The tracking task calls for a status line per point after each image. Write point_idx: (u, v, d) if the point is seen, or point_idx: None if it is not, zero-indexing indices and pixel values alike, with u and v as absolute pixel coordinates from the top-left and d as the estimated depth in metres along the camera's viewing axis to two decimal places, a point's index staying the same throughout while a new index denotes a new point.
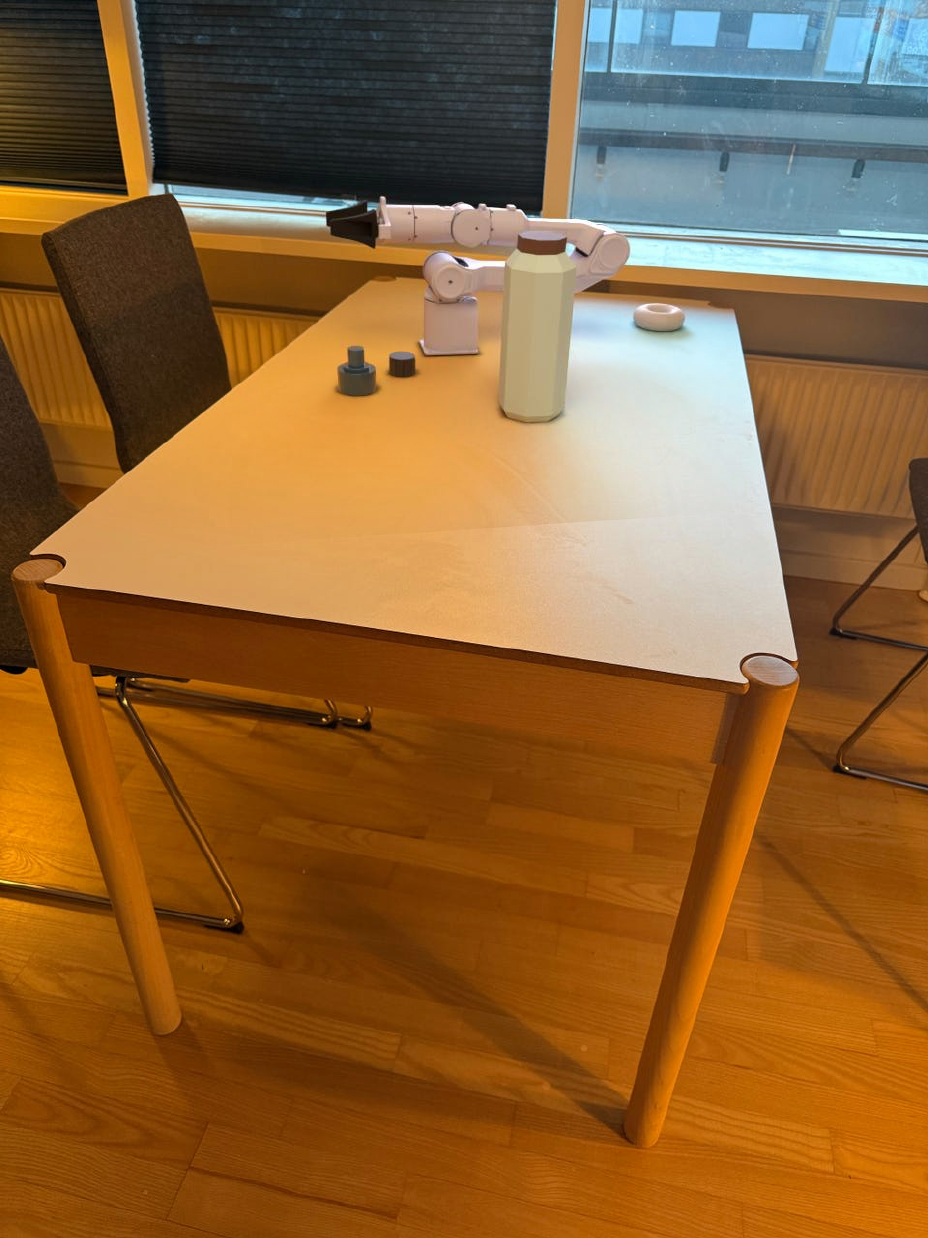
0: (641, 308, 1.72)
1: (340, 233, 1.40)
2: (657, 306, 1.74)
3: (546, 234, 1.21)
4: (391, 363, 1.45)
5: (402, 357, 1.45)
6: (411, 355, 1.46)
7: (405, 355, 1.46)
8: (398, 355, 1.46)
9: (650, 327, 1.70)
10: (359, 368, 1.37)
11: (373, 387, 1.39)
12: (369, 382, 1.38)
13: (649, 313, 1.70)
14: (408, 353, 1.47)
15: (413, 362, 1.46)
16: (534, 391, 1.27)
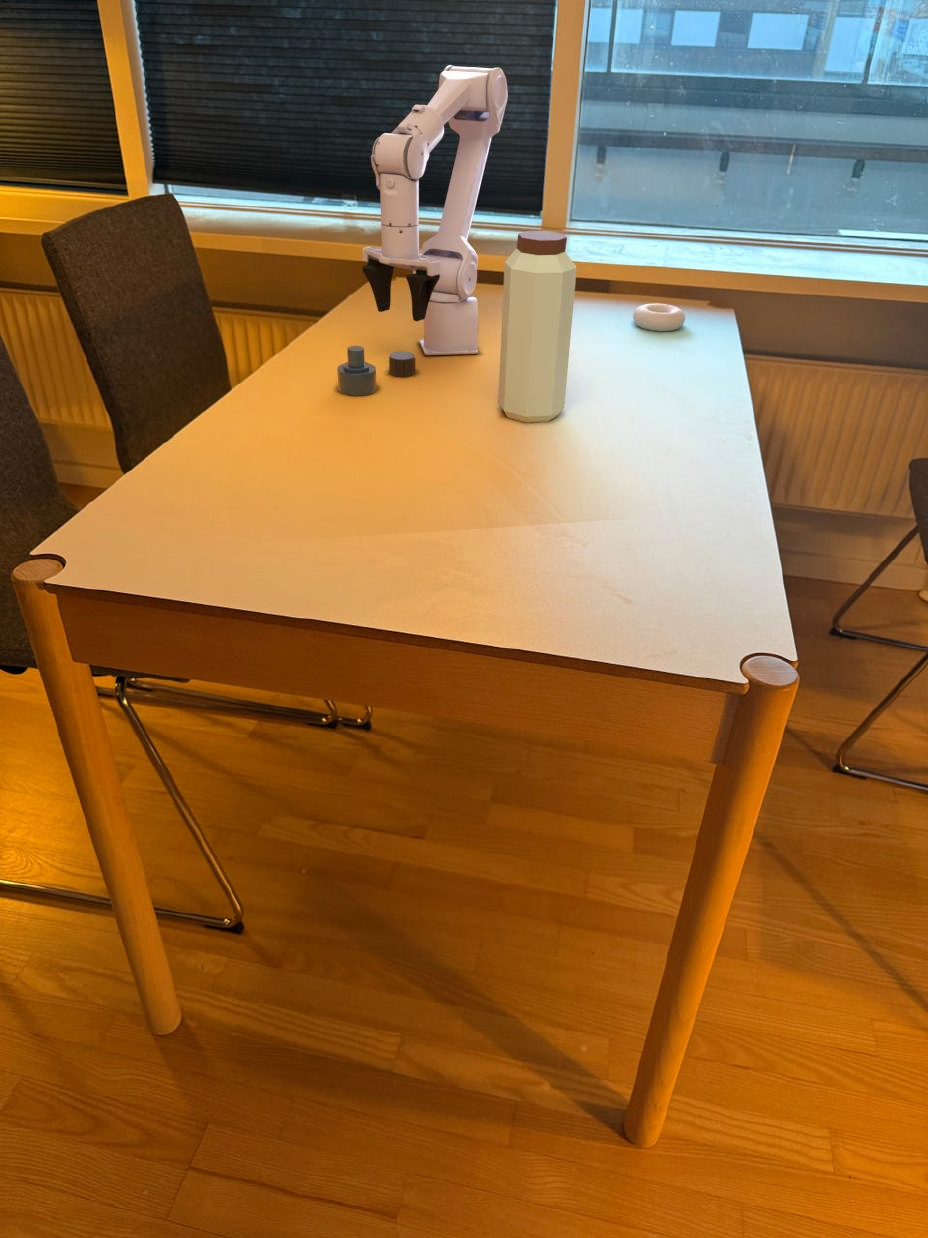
0: (641, 308, 1.72)
1: (424, 309, 1.40)
2: (657, 306, 1.74)
3: (546, 234, 1.21)
4: (391, 363, 1.45)
5: (402, 357, 1.45)
6: (411, 355, 1.46)
7: (405, 355, 1.46)
8: (398, 355, 1.46)
9: (650, 327, 1.70)
10: (359, 368, 1.37)
11: (373, 387, 1.39)
12: (369, 382, 1.38)
13: (649, 313, 1.70)
14: (408, 353, 1.47)
15: (413, 362, 1.46)
16: (534, 391, 1.27)
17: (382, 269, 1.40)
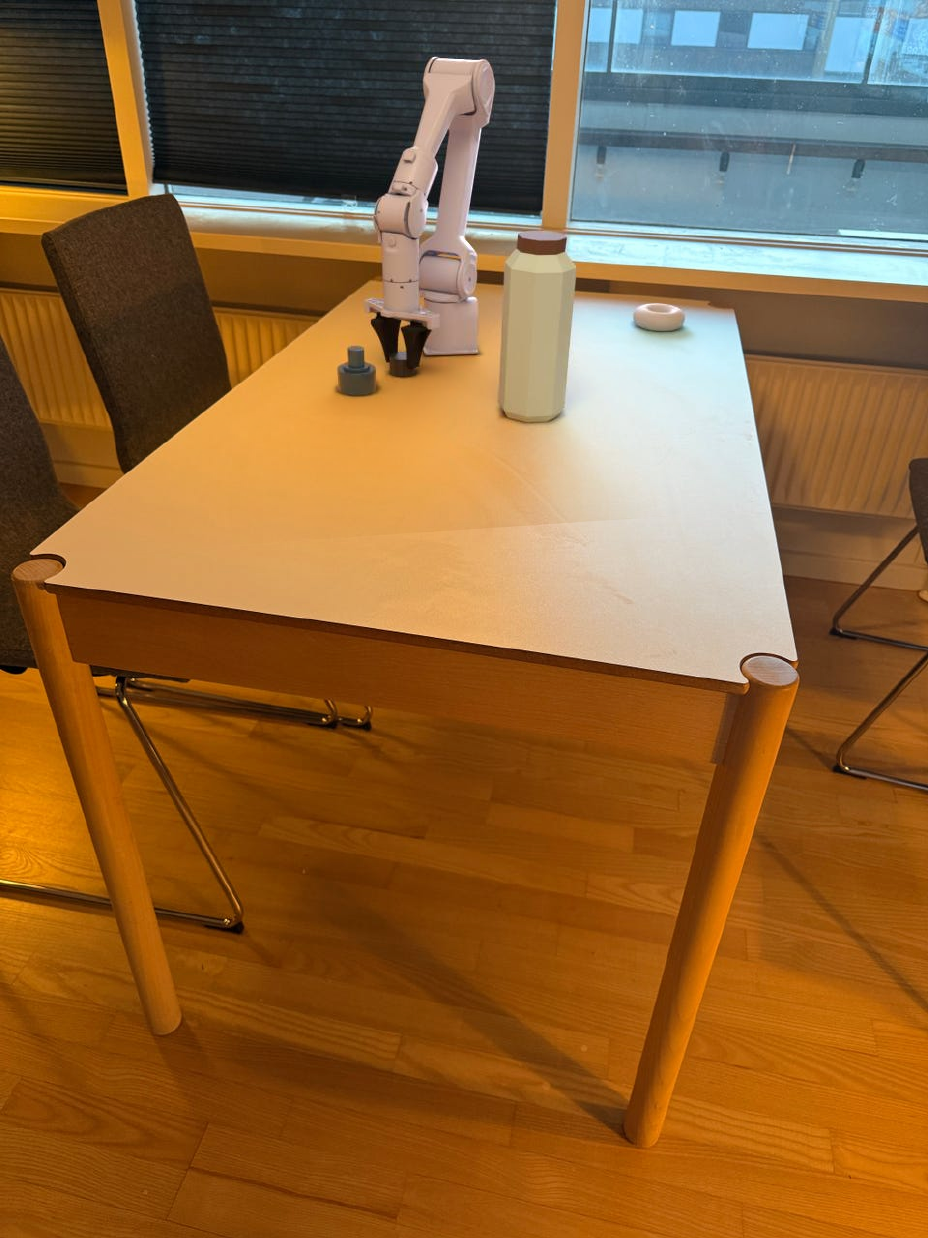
0: (641, 308, 1.72)
1: (418, 357, 1.45)
2: (657, 306, 1.74)
3: (546, 234, 1.21)
4: (391, 363, 1.45)
5: (402, 357, 1.45)
6: None
7: (405, 355, 1.46)
8: (398, 355, 1.46)
9: (650, 327, 1.70)
10: (359, 368, 1.37)
11: (373, 387, 1.39)
12: (369, 382, 1.38)
13: (649, 313, 1.70)
14: None
15: None
16: (534, 391, 1.27)
17: (390, 322, 1.44)
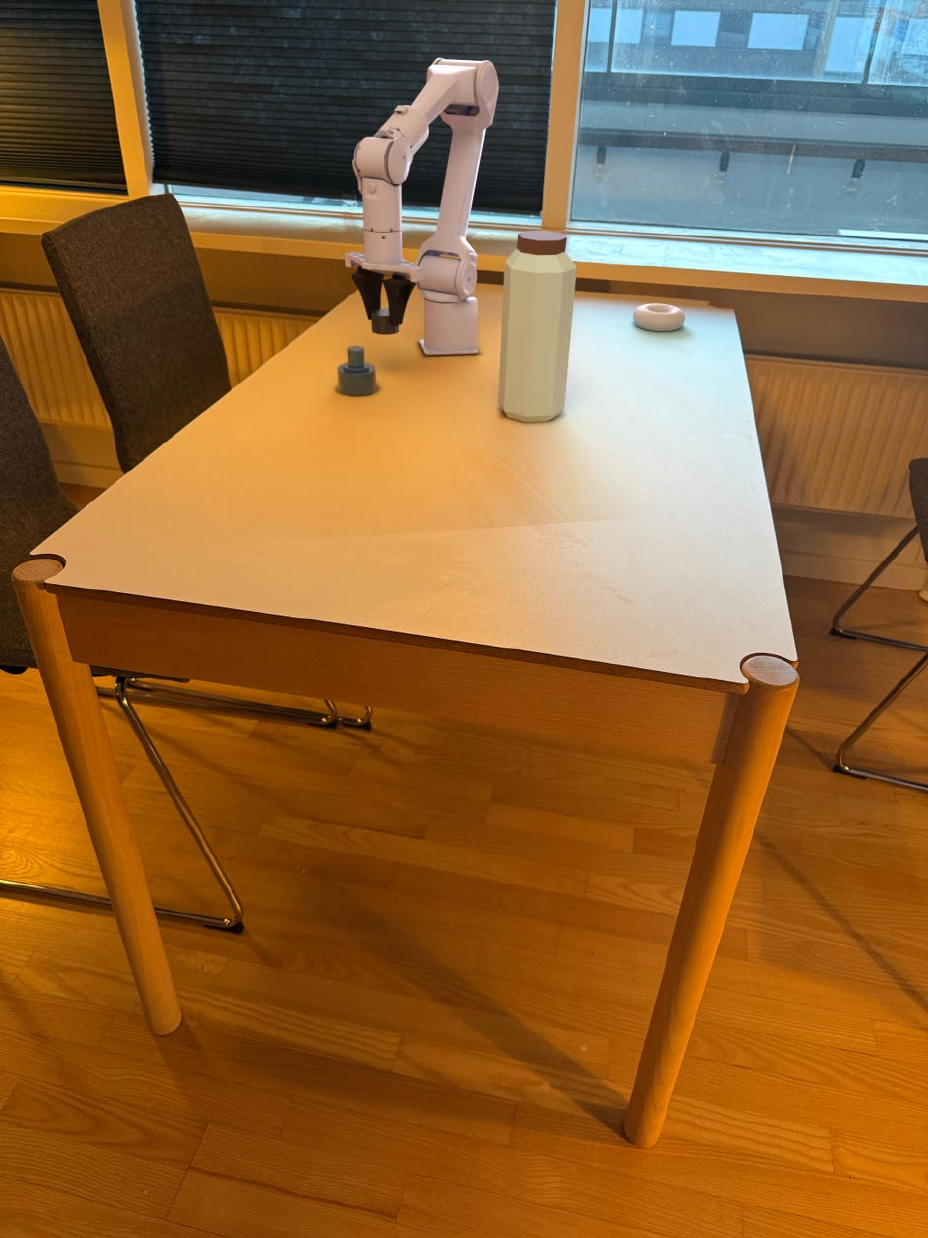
0: (641, 308, 1.72)
1: (402, 314, 1.38)
2: (657, 306, 1.74)
3: (546, 234, 1.21)
4: (373, 320, 1.38)
5: (385, 313, 1.38)
6: None
7: (388, 312, 1.39)
8: (381, 312, 1.39)
9: (650, 327, 1.70)
10: (359, 368, 1.37)
11: (373, 387, 1.39)
12: (369, 382, 1.38)
13: (649, 313, 1.70)
14: None
15: None
16: (534, 391, 1.27)
17: (372, 277, 1.37)
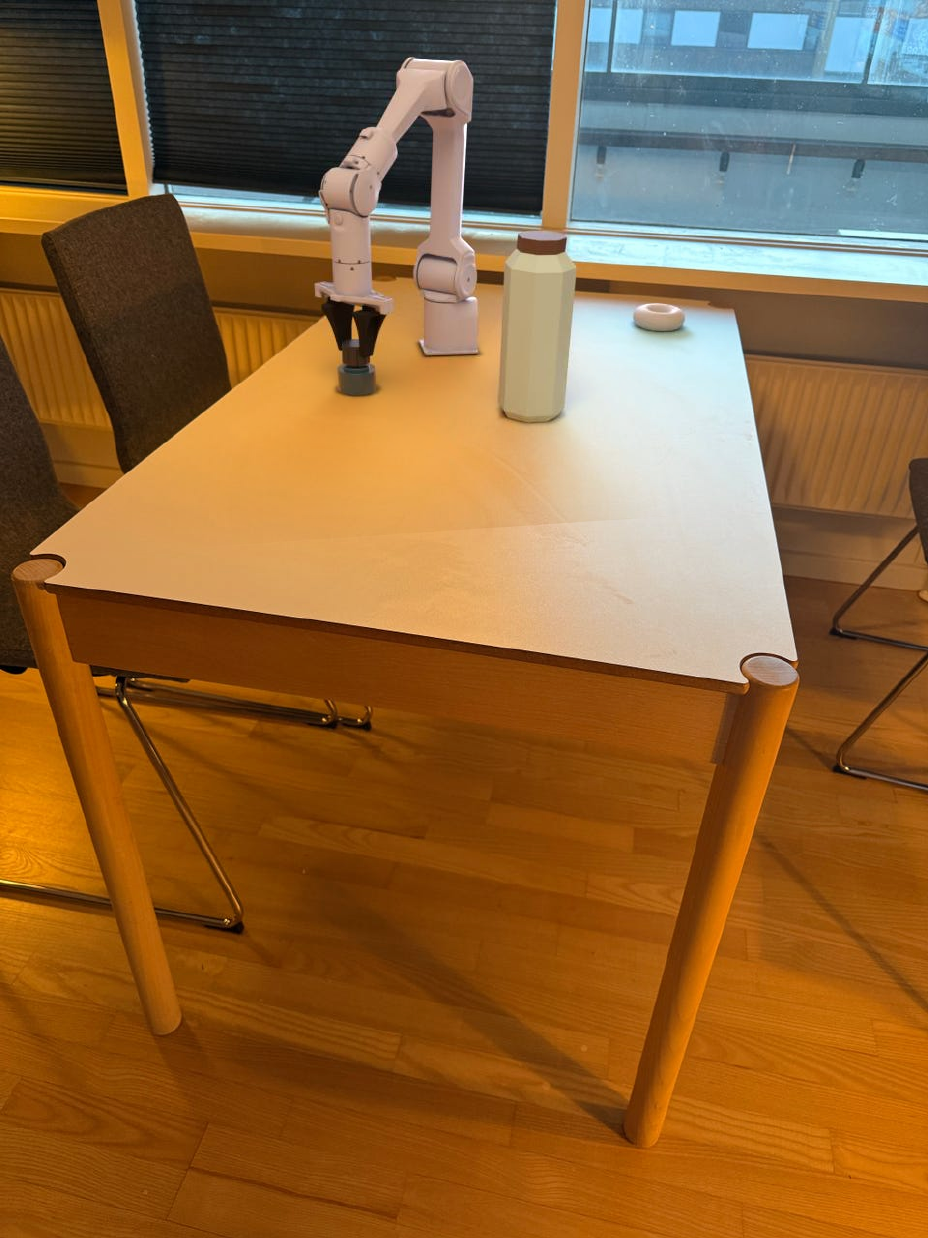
0: (641, 308, 1.72)
1: (372, 345, 1.35)
2: (657, 306, 1.74)
3: (546, 234, 1.21)
4: (344, 351, 1.36)
5: (355, 344, 1.36)
6: None
7: None
8: (351, 343, 1.36)
9: (650, 327, 1.70)
10: (359, 368, 1.37)
11: (373, 387, 1.39)
12: (369, 382, 1.38)
13: (649, 313, 1.70)
14: None
15: None
16: (534, 391, 1.27)
17: (342, 307, 1.35)
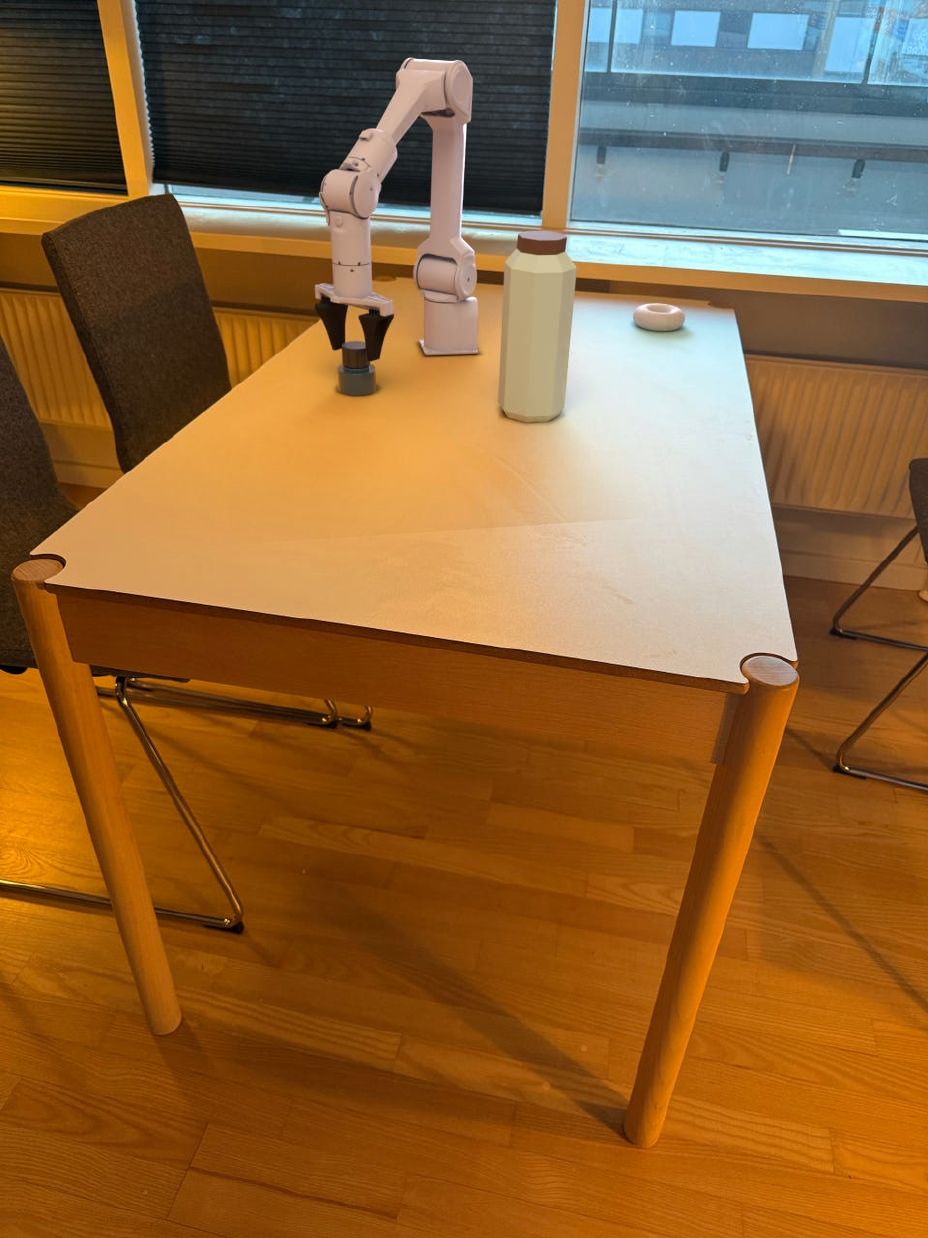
0: (641, 308, 1.72)
1: (379, 349, 1.35)
2: (657, 306, 1.74)
3: (546, 234, 1.21)
4: (344, 353, 1.36)
5: (355, 347, 1.36)
6: None
7: (359, 345, 1.37)
8: (351, 345, 1.37)
9: (650, 327, 1.70)
10: (359, 368, 1.37)
11: (373, 387, 1.39)
12: (369, 382, 1.38)
13: (649, 313, 1.70)
14: (362, 343, 1.38)
15: None
16: (534, 391, 1.27)
17: (335, 307, 1.36)
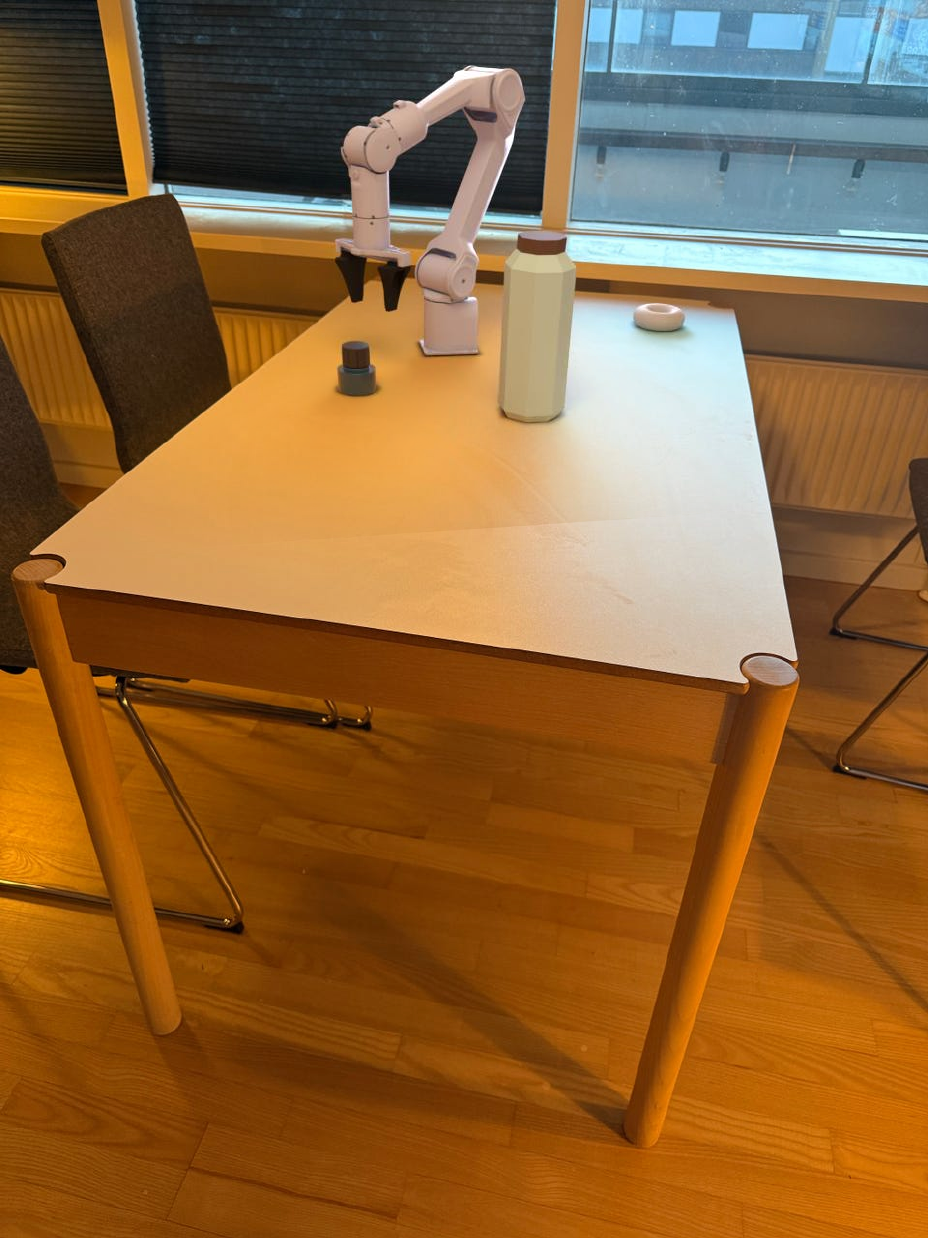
0: (641, 308, 1.72)
1: (396, 300, 1.42)
2: (657, 306, 1.74)
3: (546, 234, 1.21)
4: (344, 353, 1.36)
5: (355, 347, 1.36)
6: (365, 345, 1.36)
7: (359, 345, 1.37)
8: (351, 345, 1.37)
9: (650, 327, 1.70)
10: (359, 368, 1.37)
11: (373, 387, 1.39)
12: (369, 382, 1.38)
13: (649, 313, 1.70)
14: (362, 343, 1.38)
15: (367, 352, 1.36)
16: (534, 391, 1.27)
17: (355, 260, 1.43)
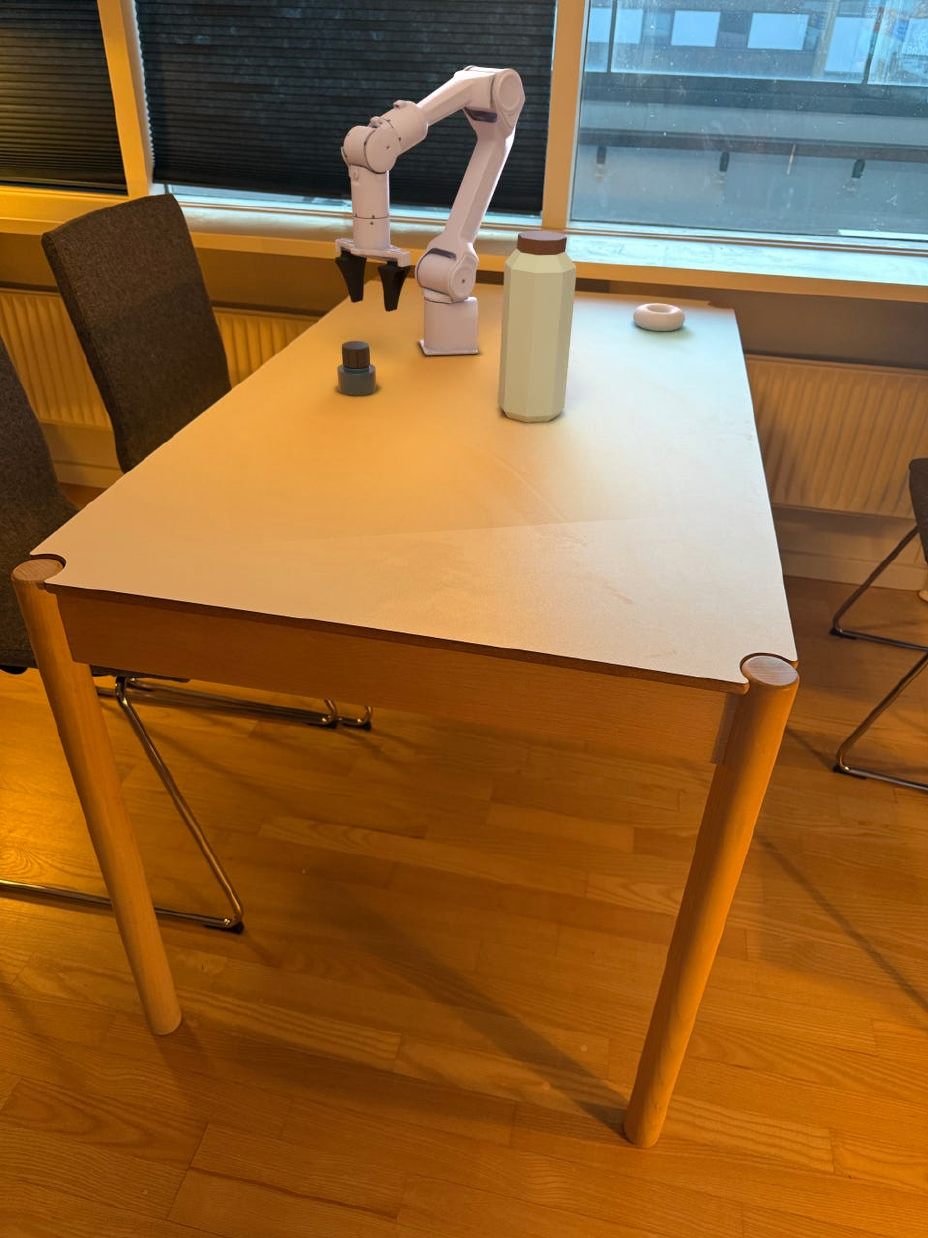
0: (641, 308, 1.72)
1: (396, 300, 1.42)
2: (657, 306, 1.74)
3: (546, 234, 1.21)
4: (344, 353, 1.36)
5: (355, 347, 1.36)
6: (365, 345, 1.36)
7: (359, 345, 1.37)
8: (351, 345, 1.37)
9: (650, 327, 1.70)
10: (359, 368, 1.37)
11: (373, 387, 1.39)
12: (369, 382, 1.38)
13: (649, 313, 1.70)
14: (362, 343, 1.38)
15: (367, 352, 1.36)
16: (534, 391, 1.27)
17: (355, 260, 1.43)
